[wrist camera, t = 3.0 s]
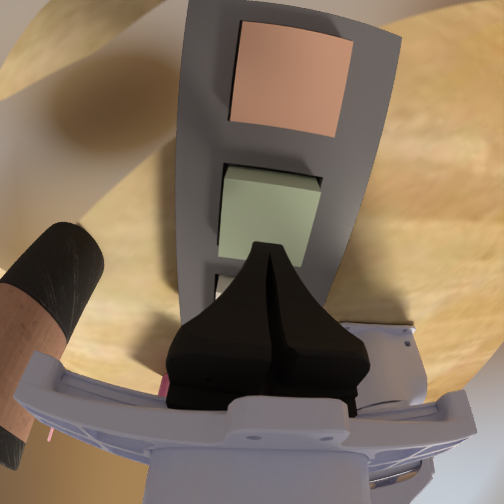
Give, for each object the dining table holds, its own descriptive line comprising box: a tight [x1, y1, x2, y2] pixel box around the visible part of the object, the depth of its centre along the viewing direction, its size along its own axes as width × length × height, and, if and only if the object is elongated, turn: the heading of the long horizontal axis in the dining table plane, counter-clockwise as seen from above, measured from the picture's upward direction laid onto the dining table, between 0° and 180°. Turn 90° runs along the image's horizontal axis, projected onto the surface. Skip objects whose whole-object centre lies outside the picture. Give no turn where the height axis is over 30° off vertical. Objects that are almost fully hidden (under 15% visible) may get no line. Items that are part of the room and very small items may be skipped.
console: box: [175, 0, 402, 326], centre depth 18 cm, size 11×24×3 cm, turn 173°
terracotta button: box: [230, 21, 353, 138], centre depth 12 cm, size 5×5×2 cm
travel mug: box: [0, 222, 104, 470], centre depth 16 cm, size 8×8×20 cm
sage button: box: [218, 165, 321, 267], centre depth 17 cm, size 5×5×2 cm
